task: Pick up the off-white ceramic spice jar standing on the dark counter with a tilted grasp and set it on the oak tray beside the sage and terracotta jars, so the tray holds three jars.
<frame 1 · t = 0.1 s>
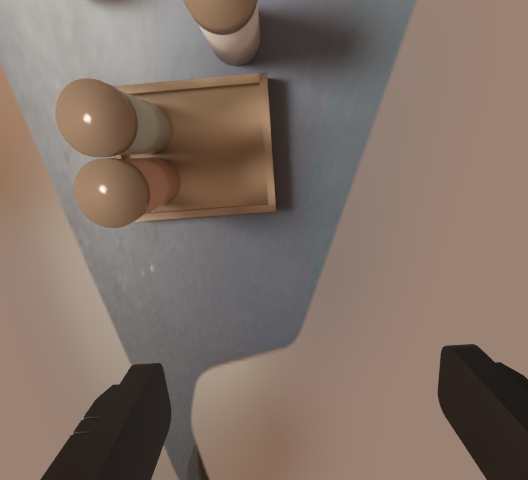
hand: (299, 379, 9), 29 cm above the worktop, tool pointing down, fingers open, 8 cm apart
tray: (196, 152, 35), on the worktop
white jar: (235, 37, 32), on the worktop
sage jar: (148, 128, 33), point 1 cm above the worktop, touching tray
terracotta jar: (157, 181, 35), point 1 cm above the worktop, touching tray
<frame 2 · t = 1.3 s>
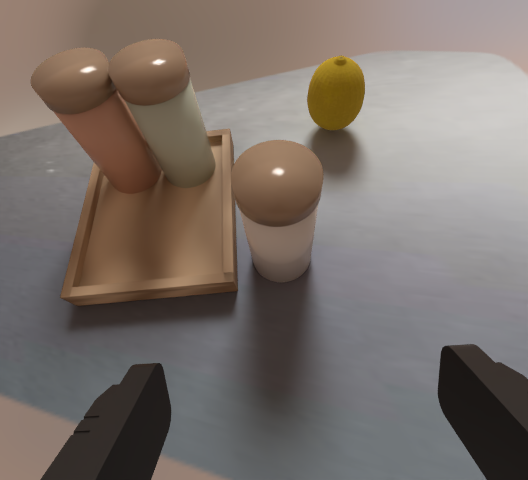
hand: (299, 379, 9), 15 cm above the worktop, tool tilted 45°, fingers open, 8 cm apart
tray: (164, 215, 31), on the worktop
lemon: (330, 129, 35), on the worktop
white jar: (281, 254, 28), on the worktop
sage jar: (190, 167, 32), point 2 cm above the worktop, touching tray
terracotta jar: (136, 173, 32), point 1 cm above the worktop, touching tray
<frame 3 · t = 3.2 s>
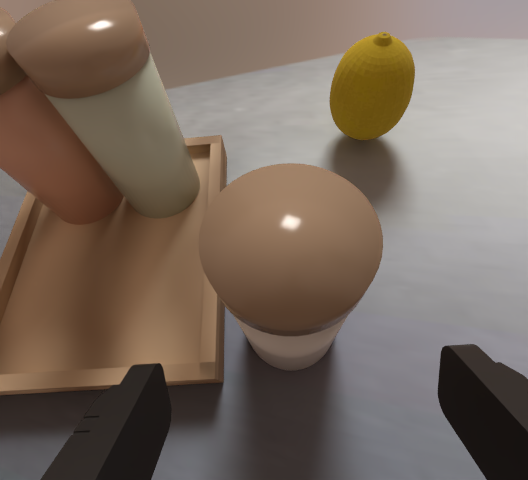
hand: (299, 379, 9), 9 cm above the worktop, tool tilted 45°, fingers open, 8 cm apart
tray: (126, 255, 22), on the worktop
lemon: (358, 137, 26), on the worktop
white jar: (289, 324, 19), on the worktop
sage jar: (164, 188, 23), point 2 cm above the worktop, touching tray
terracotta jar: (90, 194, 23), point 1 cm above the worktop, touching tray
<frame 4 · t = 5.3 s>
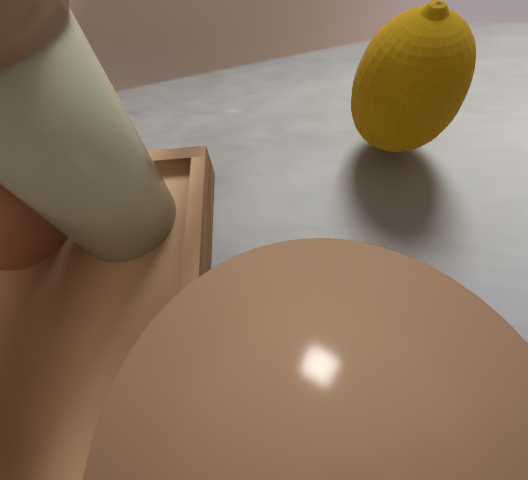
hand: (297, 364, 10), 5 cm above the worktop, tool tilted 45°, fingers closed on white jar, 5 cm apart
tray: (74, 312, 16), on the worktop
lemon: (385, 148, 20), on the worktop
white jar: (299, 425, 13), on the worktop, touching gripper
sage jar: (128, 218, 17), point 2 cm above the worktop, touching tray
terracotta jar: (28, 226, 17), point 1 cm above the worktop, touching tray
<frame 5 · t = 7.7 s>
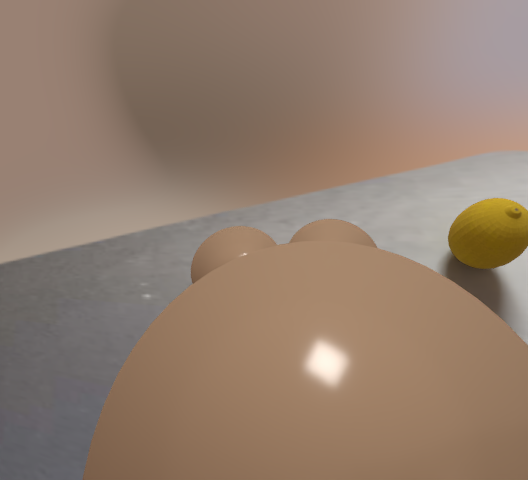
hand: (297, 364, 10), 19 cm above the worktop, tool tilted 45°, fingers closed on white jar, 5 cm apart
lemon: (463, 255, 31), on the worktop
white jar: (300, 427, 13), point 14 cm above the worktop, touching gripper
sage jar: (317, 311, 28), point 2 cm above the worktop, touching tray
terracotta jar: (255, 315, 28), point 1 cm above the worktop, touching tray
when the fingers open (7 cm above the worktop, at t = 10.2 s): white jar stays where it is, resting on tray.
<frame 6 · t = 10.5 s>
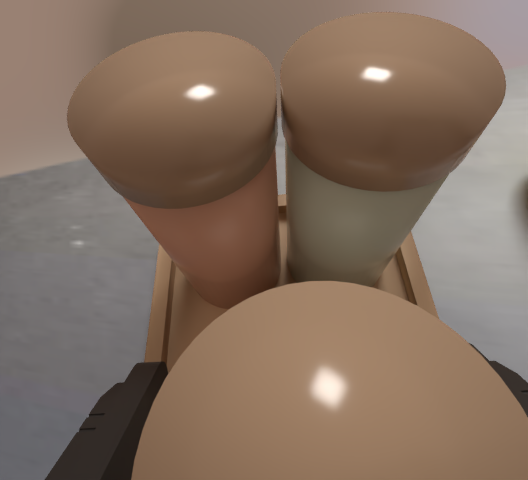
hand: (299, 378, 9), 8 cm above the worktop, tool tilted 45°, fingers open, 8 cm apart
tray: (291, 348, 17), on the worktop
white jar: (300, 429, 14), point 2 cm above the worktop, touching tray
sage jar: (333, 256, 18), point 2 cm above the worktop, touching tray
terracotta jar: (235, 264, 18), point 1 cm above the worktop, touching tray
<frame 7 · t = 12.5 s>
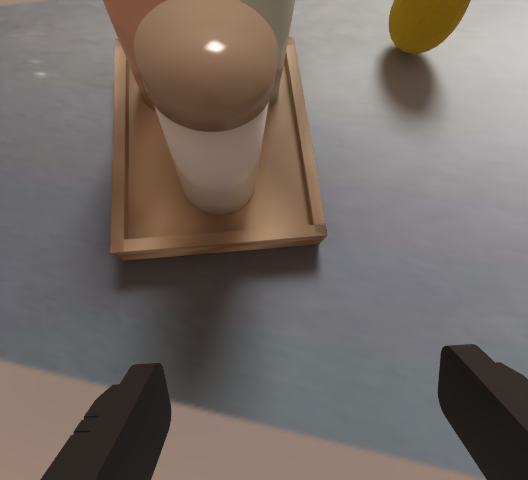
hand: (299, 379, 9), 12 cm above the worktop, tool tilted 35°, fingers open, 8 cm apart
tray: (216, 148, 25), on the worktop
lemon: (401, 52, 30), on the worktop
white jar: (219, 181, 22), point 2 cm above the worktop, touching tray
sage jar: (246, 86, 25), point 2 cm above the worktop, touching tray
terracotta jar: (175, 88, 24), point 1 cm above the worktop, touching tray
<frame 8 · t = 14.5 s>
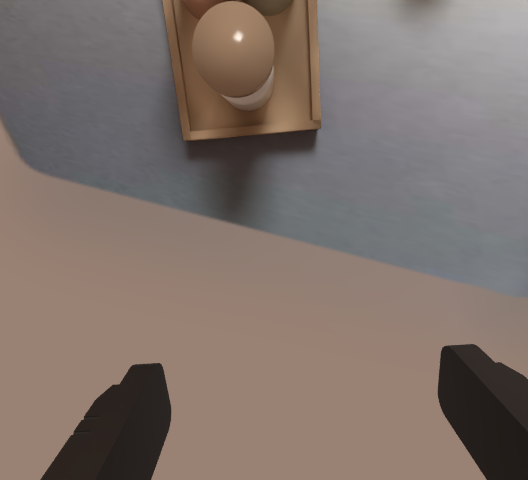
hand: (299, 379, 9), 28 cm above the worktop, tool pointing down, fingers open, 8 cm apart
tray: (244, 46, 31), on the worktop
white jar: (247, 83, 31), point 2 cm above the worktop, touching tray
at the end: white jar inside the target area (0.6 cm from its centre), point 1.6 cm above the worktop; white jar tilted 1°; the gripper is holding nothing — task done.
